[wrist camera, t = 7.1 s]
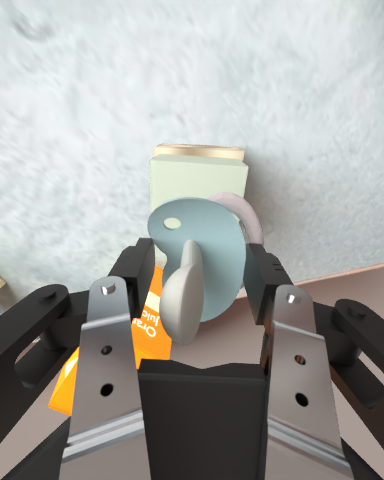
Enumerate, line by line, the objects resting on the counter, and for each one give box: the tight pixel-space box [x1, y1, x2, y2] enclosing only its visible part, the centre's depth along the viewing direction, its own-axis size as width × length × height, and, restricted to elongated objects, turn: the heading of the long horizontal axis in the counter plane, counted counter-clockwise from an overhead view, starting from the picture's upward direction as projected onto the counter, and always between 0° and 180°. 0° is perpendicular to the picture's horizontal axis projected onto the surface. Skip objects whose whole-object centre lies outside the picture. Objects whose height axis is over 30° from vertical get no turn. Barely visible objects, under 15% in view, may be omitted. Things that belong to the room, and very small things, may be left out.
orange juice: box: [48, 266, 171, 416], centre depth 28 cm, size 8×9×20 cm
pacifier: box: [148, 192, 264, 345], centre depth 10 cm, size 7×6×6 cm
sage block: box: [149, 153, 249, 247], centre depth 22 cm, size 8×8×5 cm
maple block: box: [154, 144, 244, 162], centre depth 27 cm, size 9×9×6 cm
